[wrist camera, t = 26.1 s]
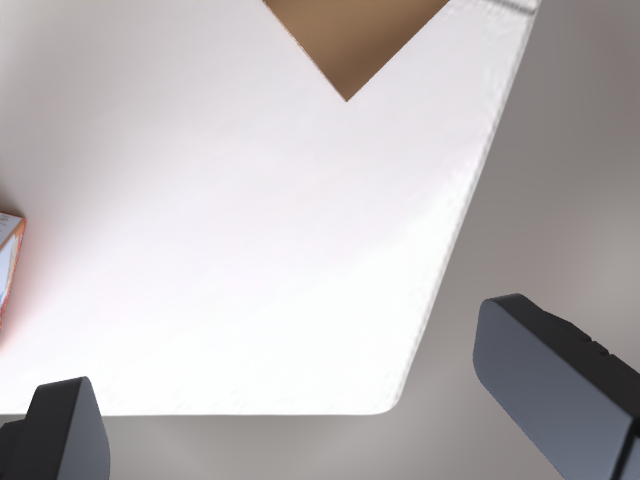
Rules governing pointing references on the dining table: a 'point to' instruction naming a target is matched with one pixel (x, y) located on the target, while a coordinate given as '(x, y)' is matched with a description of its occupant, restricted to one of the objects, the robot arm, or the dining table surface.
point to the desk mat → (352, 34)
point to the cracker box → (8, 254)
